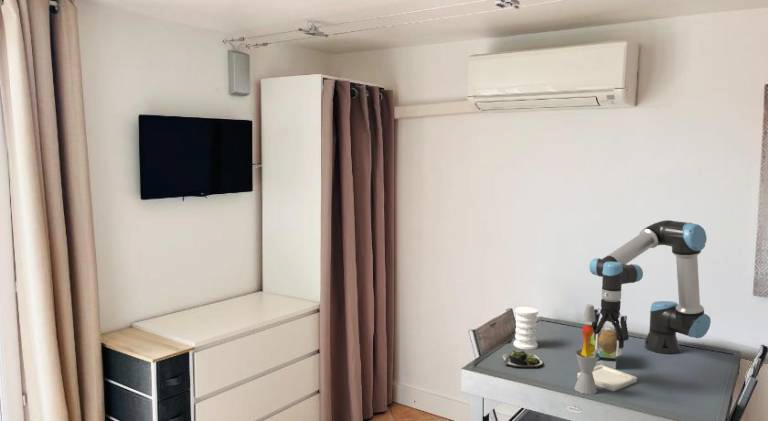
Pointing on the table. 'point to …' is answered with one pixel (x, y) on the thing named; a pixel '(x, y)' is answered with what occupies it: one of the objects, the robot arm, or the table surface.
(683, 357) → the table surface
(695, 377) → the table surface
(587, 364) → the lava lamp
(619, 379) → the tray
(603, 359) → the tea box
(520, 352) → the salad plate
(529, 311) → the decorative container
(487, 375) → the table surface
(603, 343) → the natural sponge
